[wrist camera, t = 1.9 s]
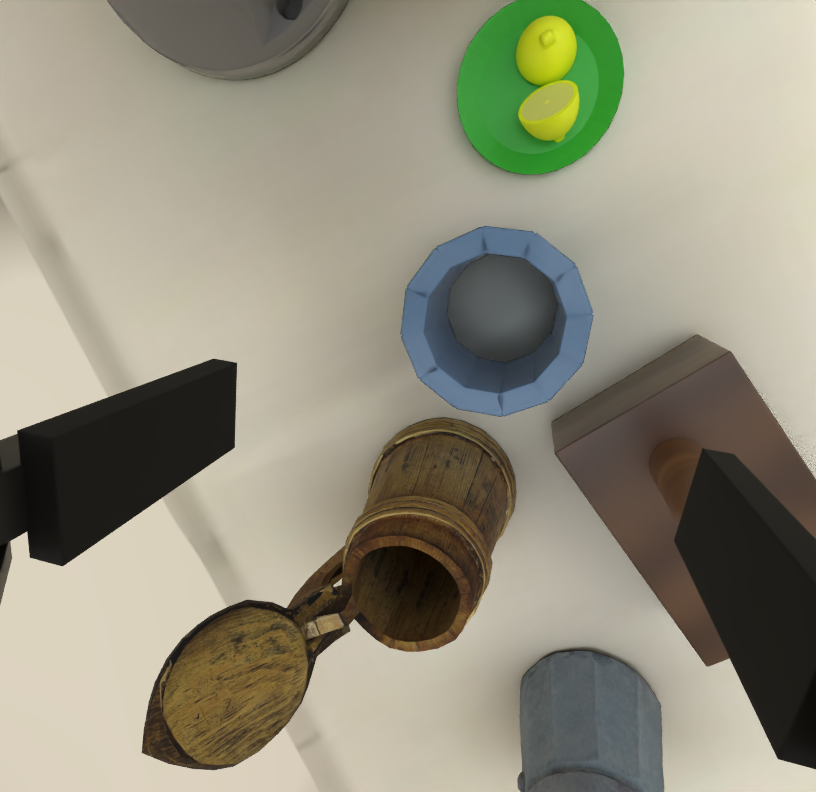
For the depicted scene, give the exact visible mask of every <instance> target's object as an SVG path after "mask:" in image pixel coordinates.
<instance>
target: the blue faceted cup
mask: <svg viewBox="0 0 816 792" xmlns="http://www.w3.org/2000/svg"><path fill="white" fill-rule="evenodd" d="M490 254H495V255H502V256H510V257H518V258H524V259H525V260H526V261H528V262H529V263H530V264H531V265H533V266H534V267H535V268H536V269H538V270H539V271H540V272H541V273H543V274H544V275H545V276H546V277H548V278H549V279H550V280H551V283H552V286H553V289H554V291H555V294H556V297H557V300H558V306H557V311H556V316H555V321H554V326H553V331H552V332H551V333H550V334H549V336H548V337H547V338H546V339H545V340H544V341H543V343H542V344H541V345H540V346H539V347H538V348H537V349H536V351H535V352H534V353H532V354H529V355H526V356H524V357H521V358H518V359H515V360H513V361H510V362H507V363H505V362H499V361H492V360H486V359H480V358H478V357H476V356H475V355H474V354H472V353H471V352H470V351H469V350H467V349H466V348H465V347H464V346H462V345H461V344H460V343H459V342H457V340H456V337H455V335H454V332H453V330H452V327H451V325H450V322H449V320H448V317H447V309H448V301H449V294H450V287H451V286H452V284H453V283H454V282H455V280H456V279H457V278H458V276H459V275H460V274H461V273H462V271H463V270H464V269H465V267H466V266H467V265H468V264H469V263H471V262H473V261H476V260H478V259H480V258H483V257H485V256H487V255H490ZM592 313H593V311H592V308H591V305H590V302H589V299H588V296H587V293H586V291H585V288H584V285H583V282H582V279H581V276H580V273H579V271H578V268H577V267H576V266H575V263H574V262H572V261H571V260H570V259H569V258H567V257H566V256H565V255H563V254H562V253H561V252H560V251H558V250H557V249H556V248H555V247H553V246H552V245H551V244H550V243H548V242H547V241H546V240H545V239H543V238H542V237H541V236H540V235H538V234H537V233H535V234H534V232H531V231H523V230H514V229H506V228H497V227H489V226H483V227H479V228H477V229H475V230H472V231H470V232H468V233H466V234H463V235H461V236H459V237H457V238H454V239H452V240H450V241H448V242H446V243H443V244H441V245H439V246H437V248H435V249H434V250H433V251H432V252H431V254H430V255H429V257H428V258H427V259H426V261H425V262H424V263H423V265H422V266H421V268H420V269H419V270H418V272H417V273H416V274H415V276H414V277H413V279H412V280H411V281H410V283H409V284H408V286H407V289H406V292H405V300H404V309H403V318H402V327H401V335H402V336H401V338H402V341H403V343H404V345H405V348H406V350H407V353H408V355H409V357H410V360H411V362H412V365H413V367H414V369H415V372H416V374H417V377H418V378H420V381H422V382H423V383H424V384H425V385H427V386H428V387H429V388H430V389H432V390H433V391H434V392H435V393H437V394H438V395H439V396H440V397H442V398H443V399H444V400H445V401H447V402H448V403H449V404H450V405H452V406H453V407H456V409H460V410H466V411H471V412H477V413H483V414H488V415H494V416H499V417H502V416H507V415H510V414H513V413H516V412H519V411H522V410H525V409H528V408H531V407H534V406H537V405H540V404H543V403H546V402H548V400H551V399H552V397H553V396H554V395H555V394H556V393H557V392H558V391H559V390H560V389H561V388H562V387H563V386H564V384H565V383H566V382H567V381H568V380H569V379H570V378H571V377H572V376H573V375H574V374H575V372H576V371H577V370H578V369H579V368H580V367H581V366H582V364H583V362H584V357H585V353H586V348H587V343H588V339H589V334H590V329H591V325H592V320H593V314H592Z"/></svg>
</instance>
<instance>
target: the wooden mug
mask: <svg viewBox="0 0 816 792" xmlns="http://www.w3.org/2000/svg"><path fill="white" fill-rule="evenodd" d="M515 498H516V485H515V475H514V473H513V470H512V467H511V465H510V462H509V459H508V457H507V456H506V455H505V453H504V452H503V450H502V449H501V448H500V446H499V445H498V444H497V442H495V441H494V440H493V439H492V438H491V437H489V436H488V435H487V434H486V433H485V432H484V431H482V430H481V429H479V428H476V427H474V426H472V425H470V424H468V423H466V422H464V421H459V420H454V419H449V418H438V419H429V420H425V421H422V422H420V423H417V424H414V425H412V426H409V427H407V428H406V429H404V430H403V431H401V432H399V433H398V434H396V435H395V436H394V437H393V438H392V439H391V440H390V441H389V442H388V443H387V444H386V445H385V446H384V448H383V450H382V452H381V453H380V455H379V457H378V459H377V461H376V463H375V465H374V468H373V471H372V474H371V479H370V485H369V491H368V499H367V502H366V505H365V508H364V511H363V514H362V515H360V516H359V517H358V519H357V520H356V522H355V524H354V526H353V528H352V530H351V532H350V533H349V535H348V537H347V540H346V544H345V546H344V547H343V548H342V549H340V550H339V551H338V552H337V553H336V554H335V555H334V556H332V557H331V558H330V559H329V560H328V561H327V562H326V563H325V564H324V565H322V566H321V567H320V568H319V569H318V570H317V571H316V572H315V573H314V574H313V575H312V576H311V577H310V578H309V579H308V580H307V581H306V582H305V584H304V585H303V586H302V587H301V588H300V590H299V591H298V592H297V593H296V594H295V596H294V597H293V599H292V601H291V602H290V604H289V605H288V607H287V608H284V607H282V606H279V605H277V604H275V603H273V602H263V601H254V600H245V601H243V602H240V603H237V604H234V605H232V606H229V607H227V608H225V609H223V610H221V611H219V612H217V613H215V614H213V615H211V616H210V617H208V618H207V619H205V620H204V621H202V622H201V623H200V624H198V625H197V626H196V627H195V628H194V629H192V630H191V631H190V632H189V633H188V634H187V635H186V636H185V637H183V638H182V639H181V641H180V642H179V643H178V645H177V646H176V647H175V649H174V650H173V651H172V653H171V654H170V655H169V657H168V658H167V659H166V661H165V663H164V665H163V667H162V669H161V671H160V673H159V675H158V677H157V679H156V681H155V684H154V687H153V690H152V694H151V697H150V700H149V705H148V710H147V715H146V722H145V727H144V734H143V746H142V753H144V754H146V755H148V756H151V757H154V758H156V759H158V760H161V761H163V762H166V763H168V764H173V765H178V766H182V767H187V768H192V769H206V770H217V769H222V768H227V767H233V766H235V765H237V764H238V763H240V762H242V761H244V760H245V759H247V758H248V757H250V756H252V755H254V754H255V753H257V752H258V751H260V750H261V749H262V748H263V747H264V746H265V745H266V744H267V743H268V742H270V741H271V740H272V739H273V738H274V737H275V736H276V735H277V734H278V733H279V732H280V731H281V730H282V729H283V728H284V727H285V726H286V724H287V723H288V722H289V721H290V719H291V718H292V716H293V715H294V713H295V712H296V710H297V709H298V707H299V706H300V704H301V703H302V701H303V698H304V695H305V693H306V690H307V688H308V685H309V682H310V678H311V675H312V671H313V668H314V664H315V661H316V657H317V656H318V655H319V654H320V653H322V652H323V651H324V650H325V649H326V648H327V647H328V646H330V645H331V644H332V643H333V642H334V641H336V640H337V639H339V638H340V637H342V636H343V635H345V634H346V633H348V632H350V628H349V624H350V623H351V622H352V621H353V620H354V619H355V620H356V621H357V622H358V623H359V624H360V625H361V626H362V627H363V628H364V629H365V630H366V631H367V632H368V633H369V634H370V635H372V636H373V637H374V638H375V639H376V640H378V641H379V642H381V643H383V644H384V645H386V646H388V647H389V648H393V649H397V650H402V651H406V652H420V651H426V650H431V649H437V648H440V647H442V646H444V645H446V644H448V643H450V642H452V641H454V640H455V639H456V638H457V637H458V635H459V634H460V633H461V632H462V630H463V628H464V626H465V625H466V623H467V622H468V621H469V620H470V618H471V617H472V616H473V615H474V613H475V612H476V610H477V607H478V605H479V602H480V600H481V598H482V595H483V593H484V591H485V590H486V588H487V586H488V584H489V580H490V574H491V569H492V559H491V554H492V552H493V549H494V547H495V544H496V541H497V540H498V539H499V538H500V537H501V536H502V534H503V532H504V530H505V527H506V525H507V523H508V521H509V519H510V517H511V515H512V514H513V512H514V507H515ZM342 578H343V579H342ZM340 579H342V585H341V586H337V587H333V585H334V584H335V583H337V582H338V581H339V580H340Z"/></svg>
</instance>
